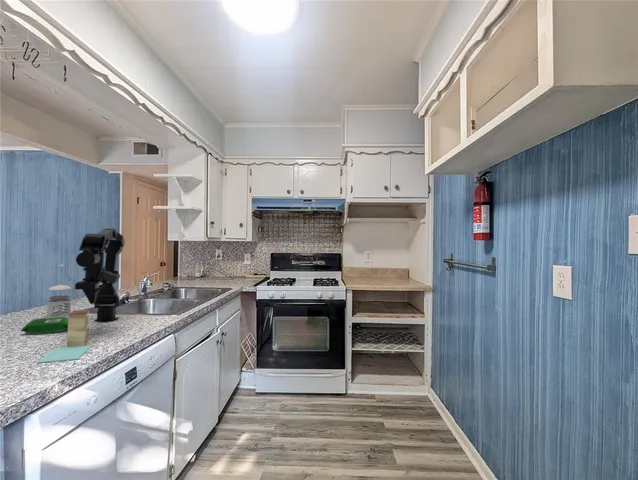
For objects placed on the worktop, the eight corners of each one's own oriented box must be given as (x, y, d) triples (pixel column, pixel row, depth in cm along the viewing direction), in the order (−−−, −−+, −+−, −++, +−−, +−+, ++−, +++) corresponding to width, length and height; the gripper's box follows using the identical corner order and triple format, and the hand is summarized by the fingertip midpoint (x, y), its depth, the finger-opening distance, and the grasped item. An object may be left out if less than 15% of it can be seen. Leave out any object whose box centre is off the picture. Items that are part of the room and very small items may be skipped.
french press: (40, 317, 131) (43, 263, 131) (72, 313, 141) (75, 263, 141) (48, 321, 125) (51, 265, 126) (80, 316, 135) (83, 264, 136)
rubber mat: (56, 349, 97) (56, 347, 97) (91, 346, 101) (91, 345, 101) (37, 363, 86) (37, 362, 86) (78, 359, 90) (78, 358, 90)
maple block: (72, 343, 103) (74, 310, 103) (87, 342, 104) (89, 309, 104) (66, 347, 98) (68, 313, 99) (82, 346, 100) (84, 312, 100)
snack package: (71, 332, 114) (72, 319, 114) (19, 336, 107) (19, 322, 107) (77, 327, 120) (78, 315, 120) (28, 330, 114) (29, 317, 114)
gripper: (111, 267, 108) (109, 308, 108) (124, 263, 125) (122, 298, 125) (75, 267, 104) (73, 309, 104) (93, 262, 121) (91, 299, 121)
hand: (92, 303), depth 113 cm, fingers closed
